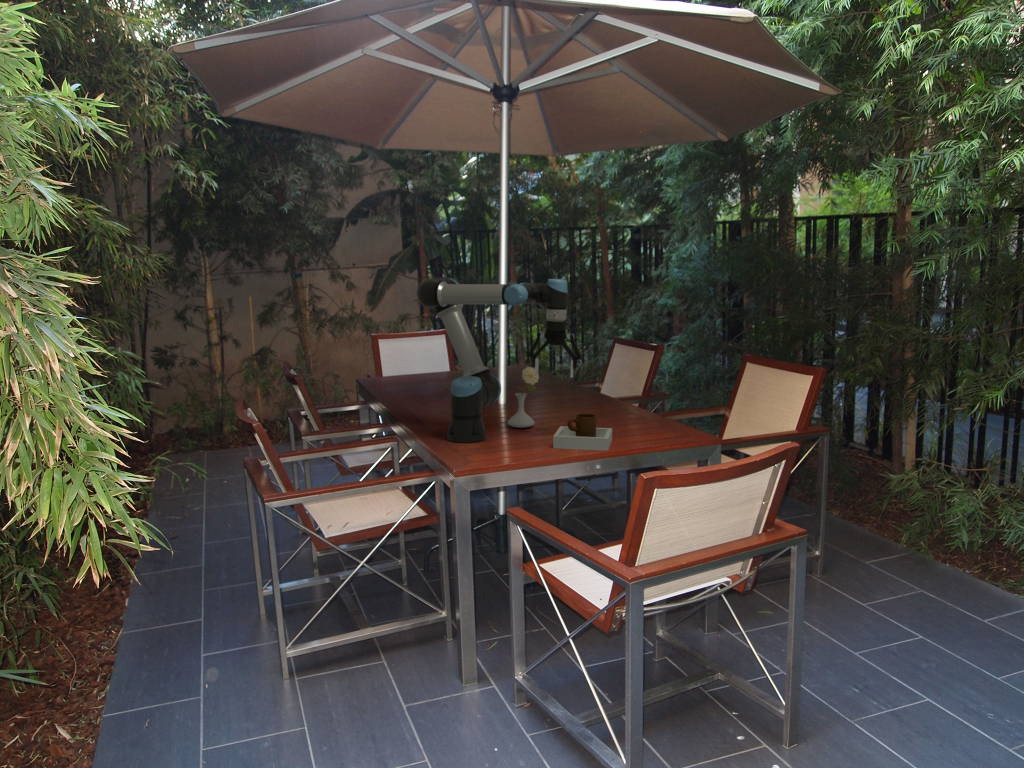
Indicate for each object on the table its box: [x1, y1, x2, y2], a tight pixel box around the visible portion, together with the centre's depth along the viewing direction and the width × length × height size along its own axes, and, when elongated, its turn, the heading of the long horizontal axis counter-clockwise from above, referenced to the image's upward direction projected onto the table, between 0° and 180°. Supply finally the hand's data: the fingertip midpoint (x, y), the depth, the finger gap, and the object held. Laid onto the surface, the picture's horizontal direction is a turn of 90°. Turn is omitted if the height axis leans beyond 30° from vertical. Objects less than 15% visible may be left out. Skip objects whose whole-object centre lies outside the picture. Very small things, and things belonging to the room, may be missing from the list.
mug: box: [566, 413, 597, 437], centre depth 300 cm, size 12×8×9 cm, turn 120°
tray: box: [552, 425, 613, 452], centre depth 300 cm, size 20×18×4 cm
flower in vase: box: [507, 366, 540, 429], centre depth 330 cm, size 13×11×25 cm
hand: (554, 376), depth 305 cm, fingers open, 13 cm apart
